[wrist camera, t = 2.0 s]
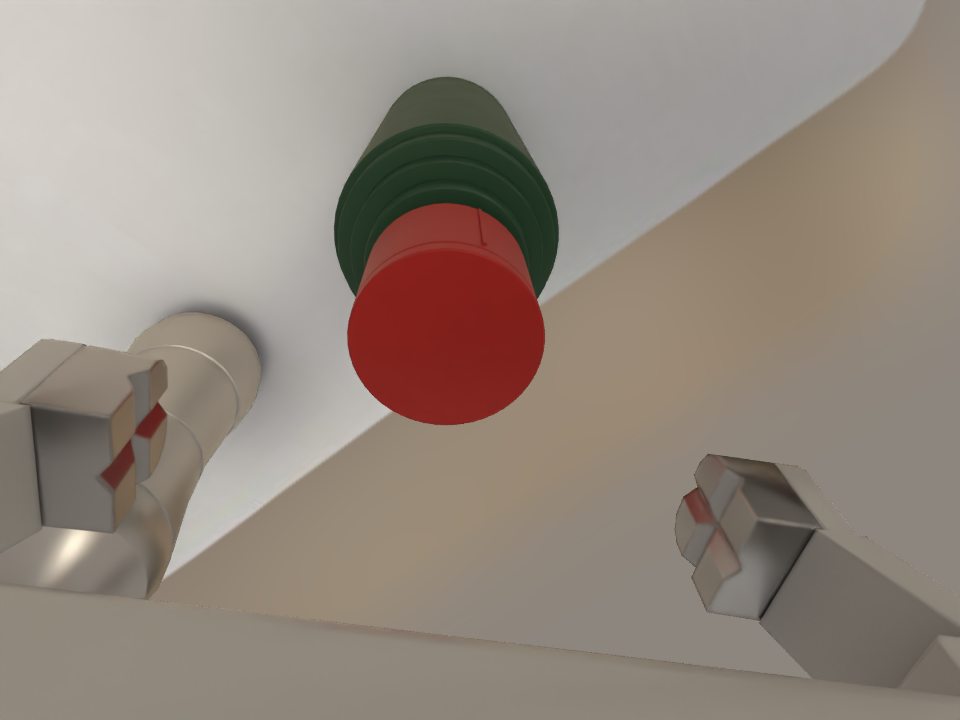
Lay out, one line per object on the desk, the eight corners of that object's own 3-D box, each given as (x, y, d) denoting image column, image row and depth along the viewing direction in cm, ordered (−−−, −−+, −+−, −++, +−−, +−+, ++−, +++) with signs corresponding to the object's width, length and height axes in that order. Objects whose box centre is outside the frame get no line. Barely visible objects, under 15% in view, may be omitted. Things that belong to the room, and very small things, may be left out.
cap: (399, 172, 14) (386, 213, 12) (555, 237, 15) (580, 290, 12) (344, 322, 16) (321, 391, 13) (488, 373, 17) (497, 448, 14)
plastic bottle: (295, 351, 36) (144, 686, 18) (222, 426, 38) (22, 792, 20) (193, 273, 33) (-96, 570, 16) (121, 357, 35) (-206, 703, 18)
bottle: (407, 52, 29) (342, 114, 11) (537, 111, 30) (661, 250, 13) (361, 187, 32) (251, 407, 14) (483, 235, 33) (522, 492, 15)
